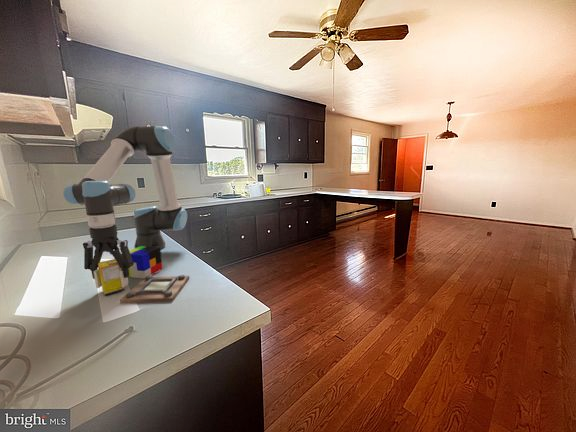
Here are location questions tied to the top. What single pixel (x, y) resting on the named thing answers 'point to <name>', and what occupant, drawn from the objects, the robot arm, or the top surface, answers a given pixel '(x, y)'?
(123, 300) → the base plate
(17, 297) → the top surface
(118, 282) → the supplement box
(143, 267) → the puzzle toy
